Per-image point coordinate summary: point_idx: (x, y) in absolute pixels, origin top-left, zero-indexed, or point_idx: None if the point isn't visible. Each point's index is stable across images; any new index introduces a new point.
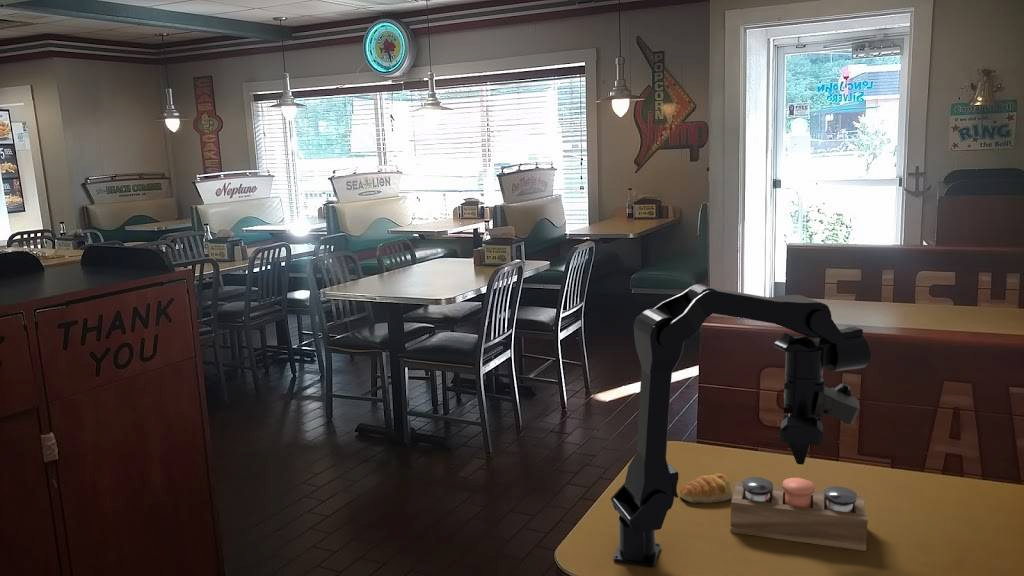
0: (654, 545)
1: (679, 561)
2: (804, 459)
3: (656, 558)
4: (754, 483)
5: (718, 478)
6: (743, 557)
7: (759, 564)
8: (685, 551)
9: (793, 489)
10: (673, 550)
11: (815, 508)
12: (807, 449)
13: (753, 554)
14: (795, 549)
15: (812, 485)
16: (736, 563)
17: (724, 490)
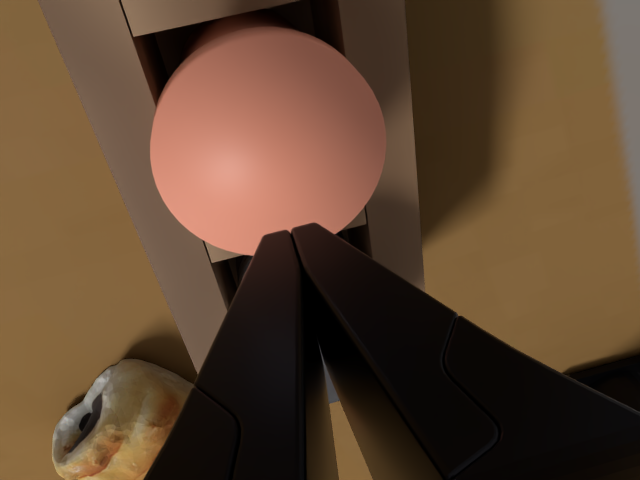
0: (636, 394)
1: (617, 314)
2: (352, 248)
3: (622, 360)
4: (322, 359)
5: (113, 458)
6: (560, 177)
7: (597, 114)
8: (560, 324)
9: (374, 166)
10: (562, 348)
11: None
12: (454, 315)
13: (532, 154)
14: (447, 13)
15: (235, 58)
16: (603, 183)
17: (166, 402)
